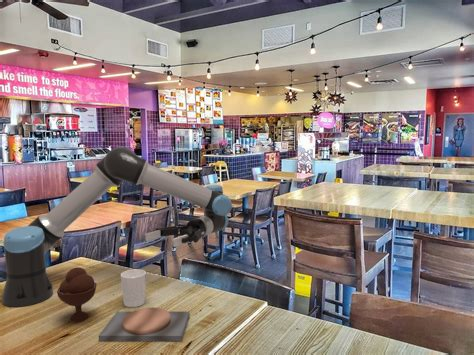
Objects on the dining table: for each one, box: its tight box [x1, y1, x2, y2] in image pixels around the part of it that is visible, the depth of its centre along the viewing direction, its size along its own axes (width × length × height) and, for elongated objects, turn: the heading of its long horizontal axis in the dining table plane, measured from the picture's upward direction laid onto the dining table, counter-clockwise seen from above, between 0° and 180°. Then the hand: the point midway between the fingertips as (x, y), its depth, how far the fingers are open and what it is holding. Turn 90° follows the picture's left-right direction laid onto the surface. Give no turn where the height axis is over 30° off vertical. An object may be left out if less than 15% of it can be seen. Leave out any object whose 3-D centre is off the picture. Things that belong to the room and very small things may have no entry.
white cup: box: [120, 268, 147, 308], centre depth 121 cm, size 8×8×10 cm
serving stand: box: [98, 306, 191, 342], centre depth 105 cm, size 22×14×3 cm, turn 89°
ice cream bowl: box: [56, 266, 98, 323], centre depth 111 cm, size 11×11×15 cm
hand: (159, 240), depth 129 cm, fingers open, 13 cm apart
